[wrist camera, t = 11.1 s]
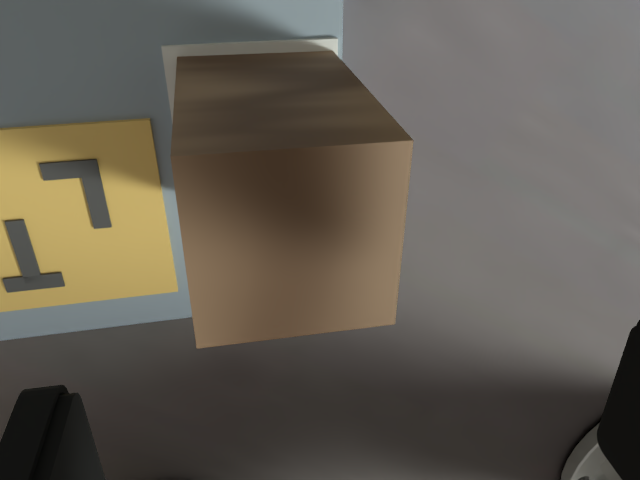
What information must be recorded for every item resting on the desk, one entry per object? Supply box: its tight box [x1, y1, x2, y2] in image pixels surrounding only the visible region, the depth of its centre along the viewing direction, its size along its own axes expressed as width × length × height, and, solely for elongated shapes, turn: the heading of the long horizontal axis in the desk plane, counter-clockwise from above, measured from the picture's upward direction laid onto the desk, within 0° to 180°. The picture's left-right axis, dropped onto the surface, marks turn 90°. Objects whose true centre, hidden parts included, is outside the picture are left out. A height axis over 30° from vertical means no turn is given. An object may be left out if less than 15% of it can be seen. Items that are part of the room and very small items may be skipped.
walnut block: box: [170, 51, 413, 349], centre depth 16 cm, size 5×5×8 cm
